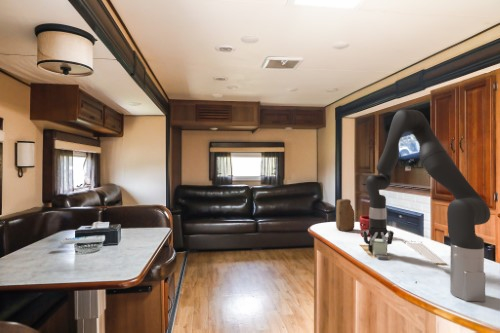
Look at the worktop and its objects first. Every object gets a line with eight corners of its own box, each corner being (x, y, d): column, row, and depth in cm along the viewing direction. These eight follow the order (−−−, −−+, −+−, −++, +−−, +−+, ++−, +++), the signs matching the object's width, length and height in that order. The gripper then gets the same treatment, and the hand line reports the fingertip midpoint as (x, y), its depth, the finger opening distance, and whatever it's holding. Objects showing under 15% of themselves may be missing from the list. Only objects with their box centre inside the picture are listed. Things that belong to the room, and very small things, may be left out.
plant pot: (361, 240, 171) (361, 219, 170) (357, 234, 184) (357, 214, 183) (386, 241, 168) (386, 220, 168) (380, 235, 181) (380, 215, 181)
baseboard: (421, 265, 133) (446, 266, 131) (421, 258, 133) (446, 260, 130) (402, 245, 162) (422, 246, 160) (402, 240, 162) (422, 240, 160)
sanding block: (386, 256, 138) (386, 243, 138) (374, 256, 138) (374, 243, 138) (380, 251, 146) (380, 239, 145) (369, 251, 146) (369, 239, 146)
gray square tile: (387, 259, 134) (387, 257, 134) (378, 259, 134) (378, 256, 134) (384, 256, 138) (384, 254, 138) (375, 256, 138) (375, 254, 138)
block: (338, 231, 191) (338, 200, 190) (335, 228, 198) (335, 198, 198) (355, 231, 191) (355, 200, 190) (351, 228, 199) (351, 198, 198)
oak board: (391, 261, 136) (391, 257, 136) (371, 260, 137) (371, 257, 137) (376, 247, 156) (376, 244, 156) (359, 247, 157) (359, 244, 157)
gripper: (364, 218, 138) (364, 254, 139) (396, 218, 137) (396, 255, 137) (359, 215, 146) (360, 249, 146) (390, 215, 144) (390, 250, 145)
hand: (377, 252), depth 142 cm, fingers closed on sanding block, 5 cm apart
